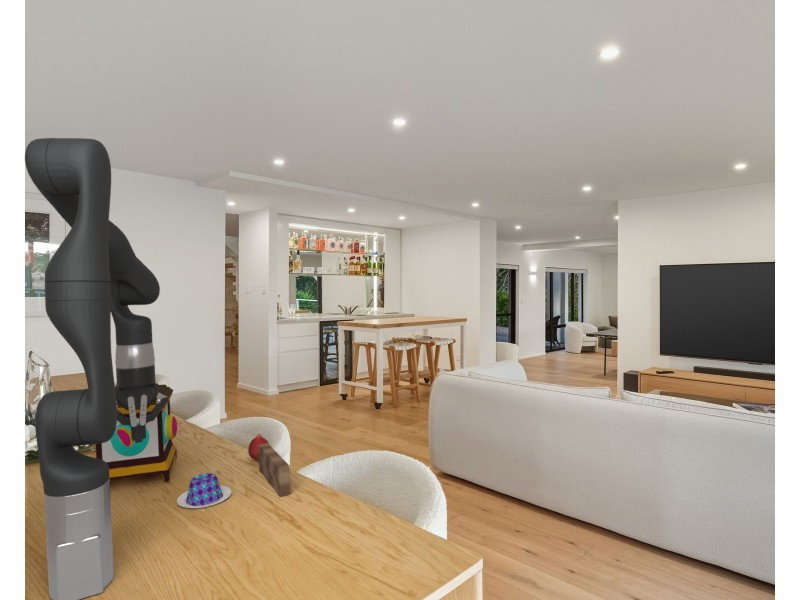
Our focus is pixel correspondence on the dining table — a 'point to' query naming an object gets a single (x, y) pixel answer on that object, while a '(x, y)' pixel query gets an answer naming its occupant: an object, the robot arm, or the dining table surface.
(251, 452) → the onion
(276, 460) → the walnut board
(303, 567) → the dining table surface
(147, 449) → the decorative lantern
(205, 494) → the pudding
